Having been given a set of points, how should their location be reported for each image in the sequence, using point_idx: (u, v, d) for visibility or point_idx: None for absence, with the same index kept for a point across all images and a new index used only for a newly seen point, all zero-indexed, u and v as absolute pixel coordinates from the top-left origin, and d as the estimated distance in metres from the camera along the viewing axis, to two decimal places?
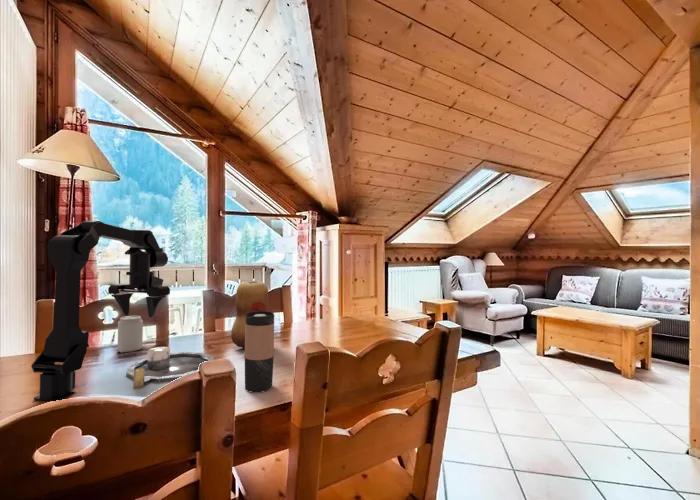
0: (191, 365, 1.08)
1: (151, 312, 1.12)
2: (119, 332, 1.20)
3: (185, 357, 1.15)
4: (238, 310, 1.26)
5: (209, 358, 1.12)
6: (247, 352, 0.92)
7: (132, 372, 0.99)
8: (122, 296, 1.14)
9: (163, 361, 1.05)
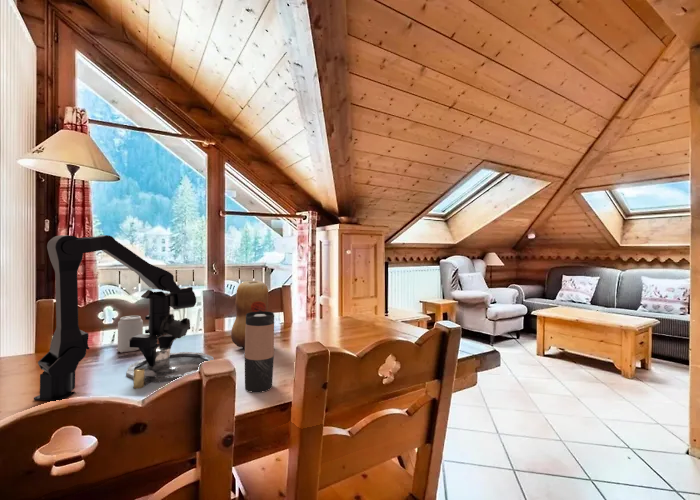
0: (191, 365, 1.08)
1: (148, 361, 1.03)
2: (119, 332, 1.20)
3: (185, 357, 1.15)
4: (238, 310, 1.26)
5: (209, 358, 1.12)
6: (247, 352, 0.92)
7: (132, 372, 0.99)
8: (162, 338, 1.10)
9: (163, 361, 1.05)
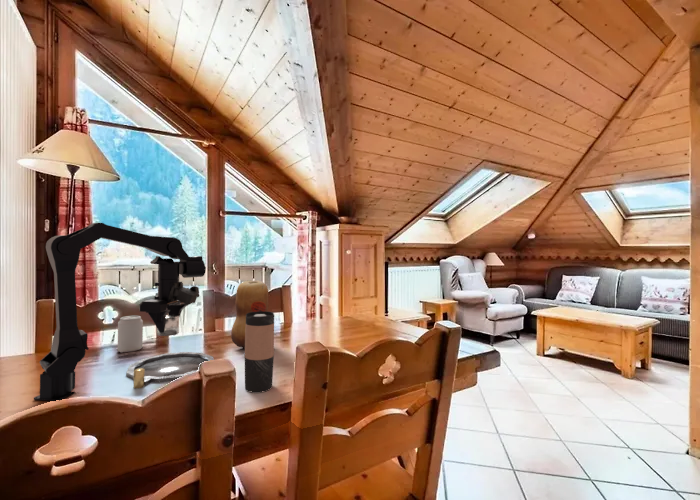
0: (191, 365, 1.08)
1: (158, 327, 1.03)
2: (119, 332, 1.20)
3: (185, 357, 1.15)
4: (238, 310, 1.26)
5: (209, 358, 1.12)
6: (247, 352, 0.92)
7: (132, 372, 0.99)
8: (170, 306, 1.10)
9: (172, 328, 1.05)
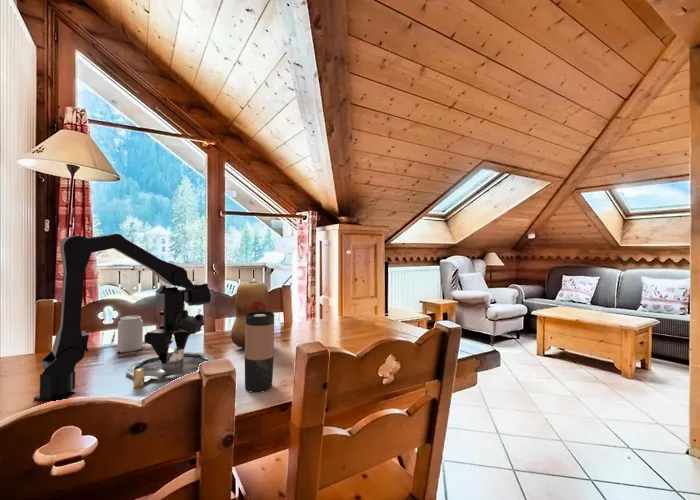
0: (191, 365, 1.08)
1: (160, 358, 1.01)
2: (119, 332, 1.20)
3: (185, 357, 1.15)
4: (238, 310, 1.26)
5: (209, 358, 1.12)
6: (247, 352, 0.92)
7: (132, 372, 0.99)
8: (177, 333, 1.11)
9: (177, 362, 1.04)
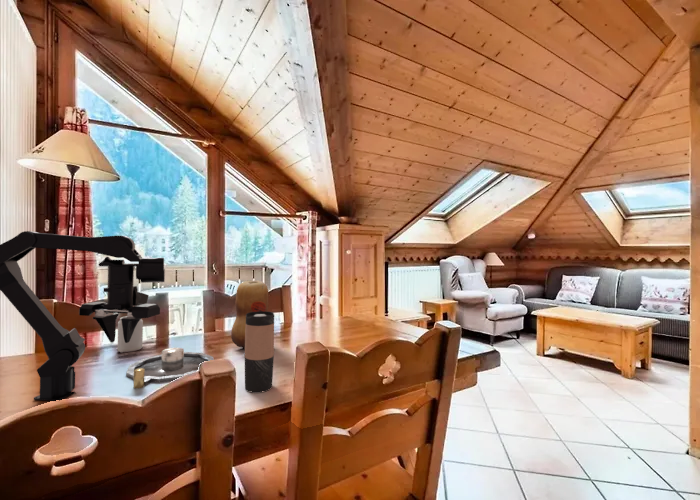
0: (191, 365, 1.08)
1: (128, 336, 0.91)
2: (119, 332, 1.20)
3: (185, 357, 1.15)
4: (238, 310, 1.26)
5: (209, 358, 1.12)
6: (247, 352, 0.92)
7: (132, 372, 0.99)
8: (106, 318, 0.91)
9: (177, 362, 1.04)
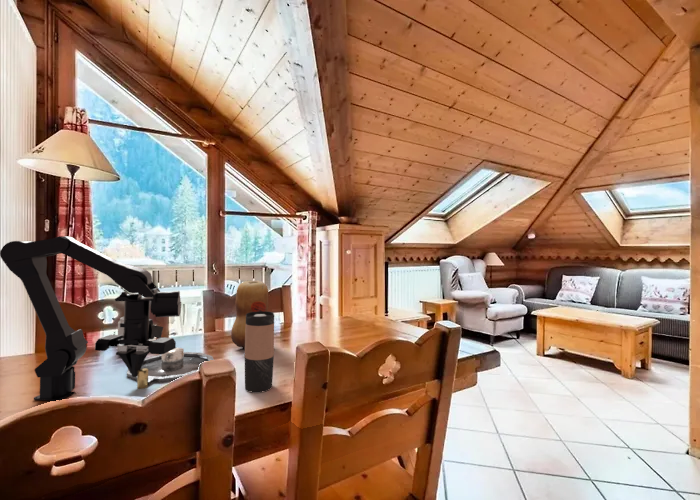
0: (191, 365, 1.08)
1: (136, 371, 0.91)
2: (119, 332, 1.20)
3: None
4: (238, 310, 1.26)
5: (208, 357, 1.13)
6: (247, 352, 0.92)
7: None
8: (130, 353, 0.91)
9: (178, 362, 1.05)
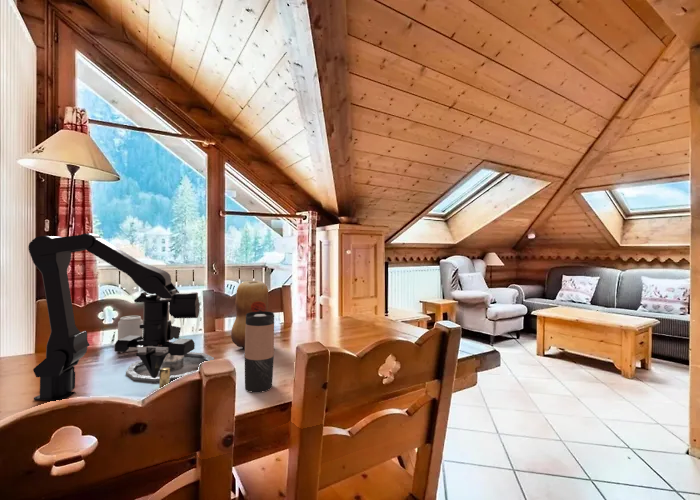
0: (190, 363, 1.10)
1: (156, 372, 0.91)
2: (119, 332, 1.20)
3: None
4: (238, 310, 1.26)
5: (203, 355, 1.15)
6: (247, 352, 0.92)
7: (140, 376, 0.96)
8: (149, 354, 0.90)
9: (181, 361, 1.06)
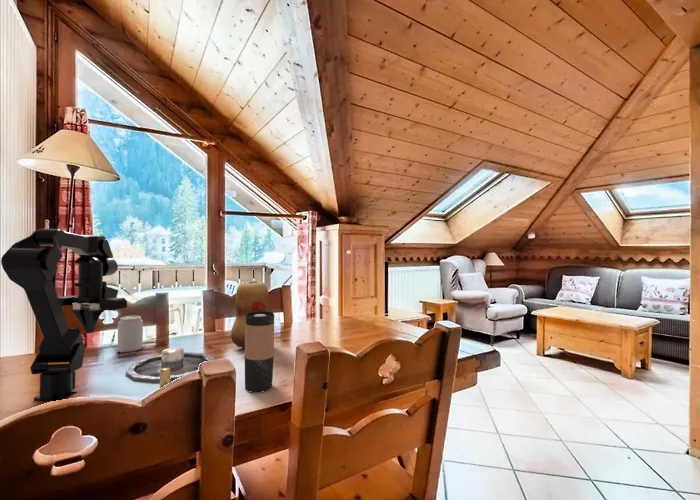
0: (190, 363, 1.10)
1: (90, 327, 1.00)
2: (119, 332, 1.20)
3: None
4: (238, 310, 1.26)
5: (203, 355, 1.15)
6: (247, 352, 0.92)
7: (141, 376, 0.96)
8: (83, 311, 0.99)
9: (181, 361, 1.06)
